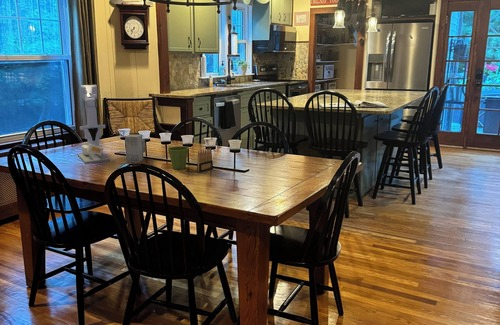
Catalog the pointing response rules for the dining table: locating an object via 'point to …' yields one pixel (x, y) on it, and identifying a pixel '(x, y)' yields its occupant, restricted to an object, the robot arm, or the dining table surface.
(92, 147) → the module
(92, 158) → the rail board
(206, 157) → the ammunition clip
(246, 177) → the dining table surface
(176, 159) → the plant pot
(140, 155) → the circuit breaker
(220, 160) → the dining table surface
